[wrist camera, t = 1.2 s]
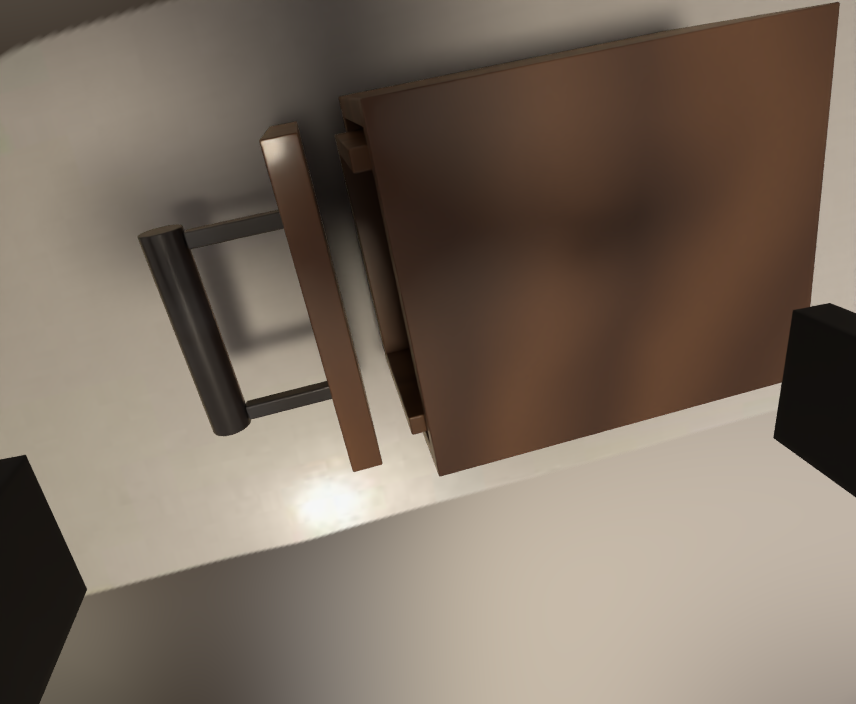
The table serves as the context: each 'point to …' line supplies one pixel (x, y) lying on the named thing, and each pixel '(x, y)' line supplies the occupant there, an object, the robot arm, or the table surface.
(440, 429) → the cabinet
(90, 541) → the table surface
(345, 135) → the drawer
